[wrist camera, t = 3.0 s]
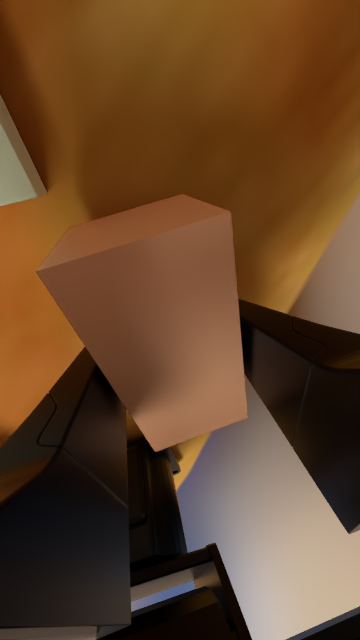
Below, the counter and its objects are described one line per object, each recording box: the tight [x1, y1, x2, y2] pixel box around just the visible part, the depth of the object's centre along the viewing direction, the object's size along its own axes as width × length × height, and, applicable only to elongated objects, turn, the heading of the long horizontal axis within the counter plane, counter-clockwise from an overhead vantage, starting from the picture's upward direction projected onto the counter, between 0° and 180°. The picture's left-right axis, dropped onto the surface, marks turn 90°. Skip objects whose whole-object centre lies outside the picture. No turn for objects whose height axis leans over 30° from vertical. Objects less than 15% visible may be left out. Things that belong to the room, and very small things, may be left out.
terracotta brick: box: [36, 194, 248, 452], centre depth 8 cm, size 8×4×4 cm, turn 13°
